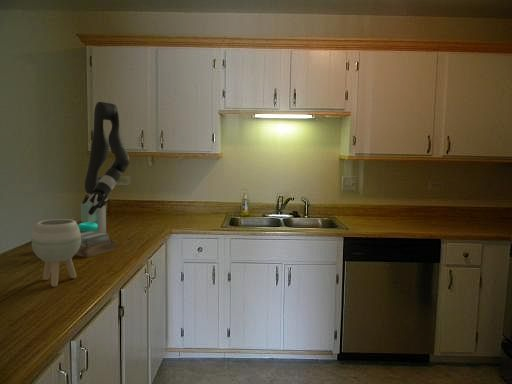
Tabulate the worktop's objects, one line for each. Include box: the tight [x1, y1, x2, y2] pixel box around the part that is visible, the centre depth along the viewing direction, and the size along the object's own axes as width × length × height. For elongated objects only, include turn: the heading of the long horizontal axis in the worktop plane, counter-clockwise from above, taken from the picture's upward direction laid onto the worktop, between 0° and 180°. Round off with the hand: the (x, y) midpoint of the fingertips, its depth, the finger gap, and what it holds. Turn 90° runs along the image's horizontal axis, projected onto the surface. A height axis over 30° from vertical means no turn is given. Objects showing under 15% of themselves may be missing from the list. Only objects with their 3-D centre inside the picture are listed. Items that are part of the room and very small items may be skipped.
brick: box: [80, 202, 96, 223], centre depth 185 cm, size 4×4×8 cm
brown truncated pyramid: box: [74, 231, 116, 258], centre depth 187 cm, size 17×17×8 cm
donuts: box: [77, 222, 98, 232], centre depth 205 cm, size 10×10×10 cm
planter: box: [31, 218, 81, 288], centre depth 142 cm, size 16×16×22 cm
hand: (86, 213), depth 184 cm, fingers closed on brick, 4 cm apart
